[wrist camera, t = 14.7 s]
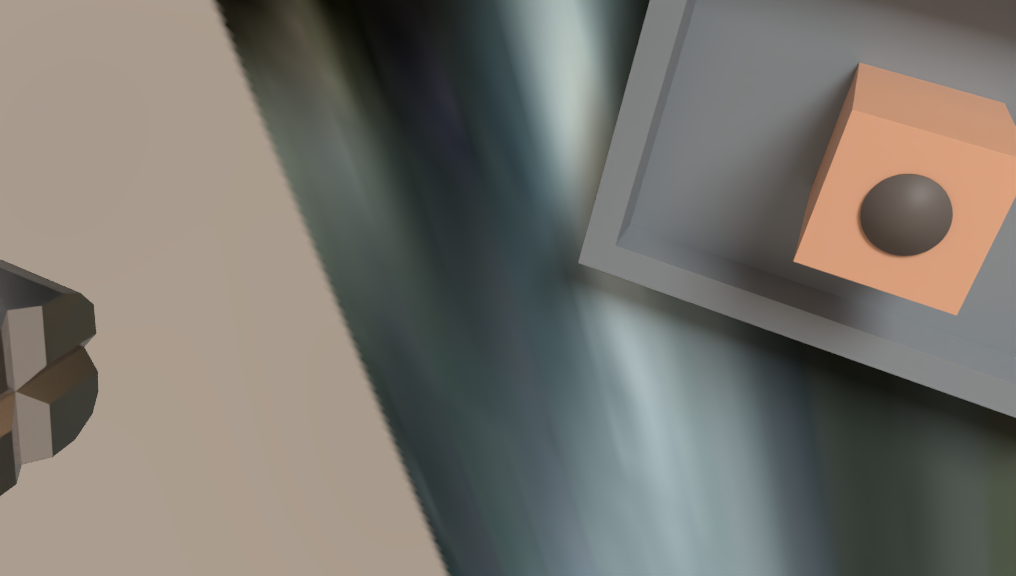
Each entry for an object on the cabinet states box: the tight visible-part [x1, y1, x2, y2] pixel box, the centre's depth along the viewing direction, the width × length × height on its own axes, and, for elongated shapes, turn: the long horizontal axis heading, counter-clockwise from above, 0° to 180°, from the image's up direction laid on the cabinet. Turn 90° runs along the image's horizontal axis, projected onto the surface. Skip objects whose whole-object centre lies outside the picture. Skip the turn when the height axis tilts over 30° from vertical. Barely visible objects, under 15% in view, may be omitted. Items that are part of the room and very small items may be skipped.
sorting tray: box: [578, 0, 1016, 418], centre depth 27 cm, size 12×16×2 cm
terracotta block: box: [794, 62, 1016, 315], centre depth 25 cm, size 4×4×6 cm
